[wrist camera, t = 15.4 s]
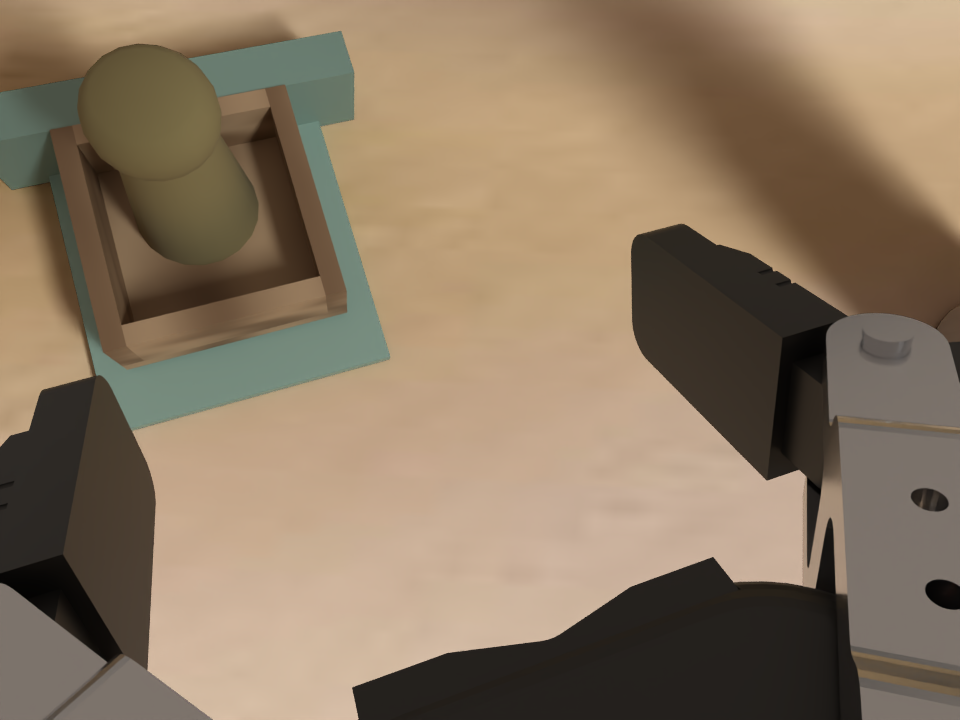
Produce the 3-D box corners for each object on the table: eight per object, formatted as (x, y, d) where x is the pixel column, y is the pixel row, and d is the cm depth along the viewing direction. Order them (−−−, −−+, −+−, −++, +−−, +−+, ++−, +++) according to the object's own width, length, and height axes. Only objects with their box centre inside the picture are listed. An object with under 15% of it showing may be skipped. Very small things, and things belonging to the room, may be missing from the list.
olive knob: (269, 166, 40) (239, 35, 30) (246, 275, 39) (206, 178, 28) (149, 143, 39) (75, 1, 29) (121, 253, 38) (31, 145, 27)
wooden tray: (291, 123, 42) (285, 84, 38) (347, 312, 40) (346, 290, 36) (77, 167, 39) (49, 129, 36) (127, 369, 38) (103, 352, 34)
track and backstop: (342, 81, 44) (341, 31, 39) (425, 349, 41) (434, 327, 37) (2, 148, 40) (-42, 99, 35) (70, 447, 37) (32, 436, 33)
